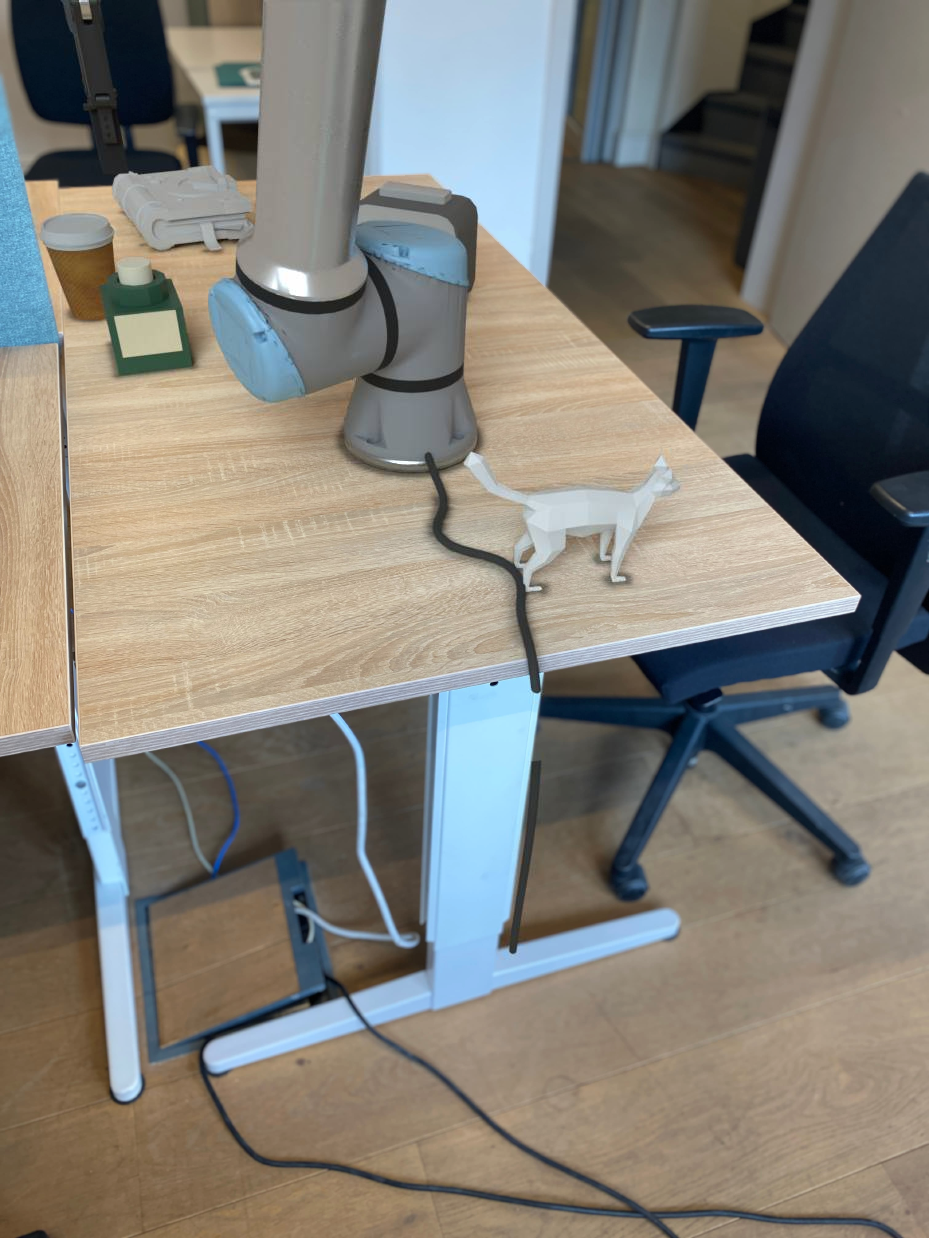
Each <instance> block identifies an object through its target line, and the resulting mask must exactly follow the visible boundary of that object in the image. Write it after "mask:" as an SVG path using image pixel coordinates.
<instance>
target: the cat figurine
mask: <svg viewBox="0 0 929 1238" xmlns="http://www.w3.org/2000/svg"><path fill="white" fill-rule="evenodd" d="M665 460H666V459H665V457H664V455H663V453H661V454H659V456H658V457H657V458H656V460H655V463H654V465H653V467H652V470H651V472H650V474H649V475H648V476H647V478H646V479H645V480H644V481H643V482H641V483H640V484H638V485H636V486H633V487H632V488H630V489H628V490H623V489H619V488H614V487H609V486H599V485H598V486H597V485H584V484H583V485H582V484H578V485H572V486H571V485H570V486H566V487H561V488H553V489H544V490H543V489H542V490H537V491H534V492H531V493H526V492H525V493H524V492H522V491H519V490H516V489H513V488H510V487H508V486H506V485H505V484H502V483H500V482H499V481H498V479H497V478H496V476H495V473H493V471H492V469H491V468H490V465H489V464H488V462H487V460H486V457H485V456H483V455H481V454H478V453H476V452H474V451H473V452H470V454H469V455H468V456H467V457H466V458H465V459H464V460H463V465H464V466H465V468H466V469H467V470H468V471H469V473H470V474H471V475H472V476H473V478H475V480H476V481H477V482H478V483H479V484H480V485H481V487H483V489H484V490H485V491H487V492H489V493H491V494H493V495H496V496H498V497H500V498H502V499H506V500H509V501H511V502H515V503H518V504H522V505H524V507H523V509H522V510H521V514H522V518H523V522H524V525H525V529H526V531H525V532H524V533H523V534H522V536H521V537H520V538H519V540H518V541H517V543H516V544H515V545H514V547H513V565H515V566H516V567H517V569H522V576H523V583H524V584H525V586H526V593H528V592H538V591H542V590H543V588H542V586H541V585H535V586H530V585H531V579H532V575H533V573H534V572H536V571H538V570H540V569H542V568H543V567H545V566H547V565H548V564H550V563H551V562H552V561H553V560H555V559H556V557H558V556H559V555H560V554H561V552H563V551H564V550H565V549H566V536H571V537H578V538H586V537H589V536H593V535H597V534H599V551H598V553H599V559H600V561H601V562H607V561H610V572H609V573H610V580H611V581H612V583H617V582H626V581H627V578H626V577H625V575H618V573H619V570H620V568H621V565H622V563H623V560H624V557H625V555H626V552H627V551H628V548H629V546H630V545H631V544H632V541H633V540H634V538H635V536H636V534H637V532H638V531H639V529H640V527H641V525H642V524H643V522H644V520H645V518H646V517H647V515H648V513H649V511H650V510H651V508H652V506H653V504H654V502H655V500H656V498H657V499H662V498H667V497H668V498H669V497H670V496H673V494H676V493H677V492H678V491H679V490H680V489H681V485H682V484H681V482H680V481H679V480H678V479H677V478H676V477H675V474H674V472H673V469H672V466H671V467H670V468H669V467H668V465H667V463H666V461H665ZM612 537H613V548H612V551H611V554H610V555H608V554H607V551H608V548H609V546H610V543H611V540H612ZM532 547H534V550H535V551H534V553H533V554H532V555H531V557H530V558H529V559H528V561H527V562H524V563H520V562H521V559H522V555H523V553H524V552H525V551H527V550H528V549H531V548H532Z"/></svg>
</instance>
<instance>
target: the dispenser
mask: <svg viewBox="0 0 929 1238" xmlns="http://www.w3.org/2000/svg"><path fill="white" fill-rule="evenodd" d="M152 274H153V279H154V281H152V282H151V283H147V284H144V285H135V286H132V285H123V284H121V283H120V281H119V276H118V271H115V273H113V274H112V275H110V276H109V277H108V278H107V284H108V285H99V289H100V294H101V298H102V302H103V307H104V311H105V316H106V318H105V319H106V324H107V328H108V333H109V338H110V341H111V345H112V349H113V354H114V359H115V363H116V367H117V372H118V376H120V377H122V376H130V375H137V374H144V373H154V372H161V371H169V370H175V369H185V368H192V367H193V361H192V360H193V359H192V354H191V348H190V343H189V342H190V341H189V336H188V331H187V325H186V319H185V313H184V308H183V305H182V302H181V299H180V297H179V294H178V292H177V289H176V287H175V284H174V282H173V279H172V278H167V277H166V274H165V273H164V272H162V271H160V270H157V269H153V268H152ZM168 310H176V315H177V321H178V327H179V332H180V338H181V344H182V349H183V351H175V352H167V353H159V354H151V355H142V356H134V357H126V358H123V355H122V351H121V346H120V342H119V337H118V333H117V328H116V324H115V319H114V316H121V315H131V314H140V313H149V312H159V311H168Z"/></svg>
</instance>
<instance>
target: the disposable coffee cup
mask: <svg viewBox="0 0 929 1238" xmlns="http://www.w3.org/2000/svg"><path fill="white" fill-rule="evenodd" d="M39 227H40V232H39V234H38V237H39V240H40V241H41V242H42V244H43V245H44V246H45V248H46V251H47V253H48V256H49V258H50V262H51V264H52V267H53V269H54V271H55V274H56V276H57V279H58V282H59V284H60V287H61V289H62V292H63V294H64V297H65V299H66V303H67V305H68V307H69V310H70V312H71V315H72V316H73V317H74V318H75V319H78V320H83V321H100V320H105V319H106V316H105V311H104V307H103V302H102V298H101V294H100V289H99V285H108V284H107V278H108V277H109V276H110V275H112V274H113V273H116V262H115V253H114V252H115V251H114V242H113V241H114V238H115V237H114V236H115V229H114V227H112V226H111V223H110V221H109V219H108V218H107V217H105V216H104V215H101V214H96V213H86V212H76V213H75V212H74V213H73V212H72V213H64V214H59V215H55V216H52V217H51V216H50V217H48V218H46V219H45V220H42V222H40V225H39Z"/></svg>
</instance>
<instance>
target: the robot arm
mask: <svg viewBox="0 0 929 1238" xmlns="http://www.w3.org/2000/svg"><path fill="white" fill-rule="evenodd" d="M60 1H61V2H62V4H63V9H64V14H65V19H66V22H67V26H68V28H69V30H70V32H71V33H72V34H73V38H74V41H75V43H74V44H75V47H76V52H77V57H78V62H79V66H80V72H81V75H82V77H81V81H82V84H83V86H84V89H83V90H84V93H85V95H86V97H87V98H86V103H83V110H84V111H88V112H89V116H90V121H91V127H92V131H93V136H94V141H95V146H96V151H97V155H98V160H99V164H100V165H101V169H102V173H103V175H104V176H111V175H119V174H128V173H129V171H130V170H129V166H128V160H127V155H126V150H125V145H124V139H123V134H122V129H121V124H120V118H119V112H118V108H117V102H118V100H117V97H118V92H117V89H116V87H114V85H113V80H112V75H111V69H110V64H109V60H108V59H109V58H108V53H107V49H106V42H105V37H104V32H105V30H106V27H105V22H104V17H103V10H102V6H101V2H102V0H60ZM387 2H388V1H387V0H262V21H261V22H262V23H261V24H262V25H261V48H260V72H259V73H260V75H259V101H258V128H257V130H258V131H257V155H256V157H257V158H256V185H255V210H254V211H255V212H254V227H253V228H252V229H250V230H249V231H247V232H246V233H245V234H244V235H243V236H242V237H241V238H240V239H238V241H237V244H236V249H235V272H234V273H235V275H233V277H222V278H220V280H219V281H217V282H215V283H214V284H213V285H211V287H210V289H209V291H208V295H207V297H208V298H207V307H208V315H209V319H210V320H209V321H210V324H211V327H212V330H213V334H214V337H215V339H216V342H217V345H218V347H219V349H220V352H221V353H222V355H223V357H224V359H225V361H226V364H227V365H228V367H229V368H230V370H231V372H232V373H233V374H234V376H235V378H236V379H237V381H239V383H240V384H241V385H242V387H243V388H244V389H245V390H246V391H247V392H248V393H249V394H251V395H252V396H253V397H254V398H256V399H258V400H260V401H262V402H265V403H269V404H275V403H280V402H285V401H289V400H293V399H302V398H305V397H306V396H308V395H310V394H314V393H316V392H319V391H322V390H325V389H327V388H328V389H329V388H331V387H334V386H336V385H339V384H342V383H345V382H348V381H351V380H354V379H355V382H354V386H353V389H352V392H351V395H350V398H349V401H348V405H347V409H346V412H345V415H344V419H343V427H342V428H343V442H344V446H345V448H346V449H347V450H348V452H349V453H350V454H351V455H352V456H353V457H354V458H356V459H357V460H359V461H360V462H362V463H365V464H367V465H369V466H370V467H371V466H372V467H375V468H378V469H381V470H386V471H390V472H398V473H425V472H426V473H427V472H429V474H430V477H431V479H432V482H433V484H434V487H435V489H436V492H437V495H438V498H439V507H438V510H437V512H436V513H435V517H434V518H433V523H432V533H433V535H434V537H435V538H436V540H437V541H438V542H439V543H440V544H441V545H442V546H443V547H445V548H447V549H448V550H451V551H452V552H455V553H457V554H459V555H464V556H467V557H471V558H475V559H479V560H483V561H487V562H490V563H492V564H496V565H497V566H499V567H501V568H503V569H505V570H506V571H507V572H509V574H510V575H511V576H512V577H513V580H514V582H515V585H516V600H515V611H516V612H515V613H516V618H517V623H518V627H519V631H520V635H521V638H522V643H523V645H524V651H525V655H526V661H527V667H528V675H529V685H530V690H531V692H532V693H534V694H540V693H541V692H542V685H541V676H540V675H541V674H540V668H539V663H538V662H539V661H538V655H537V651H536V647H535V642H534V638H533V635H532V632H531V629H530V625H529V621H528V617H527V616H528V615H527V613H526V612H527V611H526V610H527V609H526V598H527V592H526V586H525V584H524V583H523V573H521V571H520V570H519V568H517V567H516V566H515V564H514V563H512V562H511V561H510V560H508V559H507V558H505V557H503V556H500V555H499V554H495V553H492V552H489V551H486V550H481V549H478V548H474V547H471V546H467V545H463V544H461V543H458V542H455V541H454V540H452V539H450V538H449V537H447V535H445V534H444V532H443V531H442V523H443V521H444V519H445V516H446V513H447V509H448V501H449V500H448V494H447V491H446V488H445V485H444V483H443V481H442V479H441V476H440V473H439V471H440V470H442V469H446V468H450V467H452V466H454V465H456V464H459V463H460V462H462V461H465V459H466V458H467V456H468V455H469V454H470V452H474V450H475V449H476V447H477V443H478V424H477V423H478V422H477V416H476V414H475V409H474V407H473V403H472V401H471V400H472V399H471V398H470V397H471V396H470V393H469V390H468V387H467V383H466V381H465V354H466V353H465V352H466V351H465V348H466V329H467V313H468V312H467V310H468V295H469V293H468V286H469V280H468V279H467V252H466V249H465V247H464V245H463V244H462V242H461V241H460V240H459V239H457V238H456V237H455V236H453V235H451V234H449V233H447V232H445V231H442V230H440V229H437V228H434V227H430V226H426V225H421V224H416V223H410V222H402V221H388V220H379V221H368V222H363V223H360V224H358V225H357V221H358V214H359V206H360V200H362V199H361V198H362V190H363V183H364V175H365V167H366V159H367V152H368V146H369V145H368V144H369V138H370V131H371V123H372V115H373V107H374V99H375V93H376V84H377V77H378V69H379V62H380V54H381V46H382V39H383V31H384V24H385V17H386V8H387ZM438 470H439V471H438ZM530 764H531V765H530V783H529V796H528V808H527V817H526V825H525V835H524V843H523V852H522V855H521V857H522V858H521V863H520V864H521V865H520V870H519V877H518V884H517V889H516V897H515V903H514V908H513V909H514V910H513V916H512V923H511V931H510V937H509V946H508V952H509V953H510V954H511V955H515V954H516V953H517V951H518V943H519V938H520V937H519V935H520V929H521V923H522V917H523V916H522V915H523V909H524V903H525V898H526V892H527V891H526V890H527V885H528V879H529V873H530V867H531V861H532V854H533V847H534V842H535V833H536V826H537V817H538V808H539V799H540V798H539V797H540V787H541V772H542V771H541V770H542V760H541V759H539V760H531V763H530Z"/></svg>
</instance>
